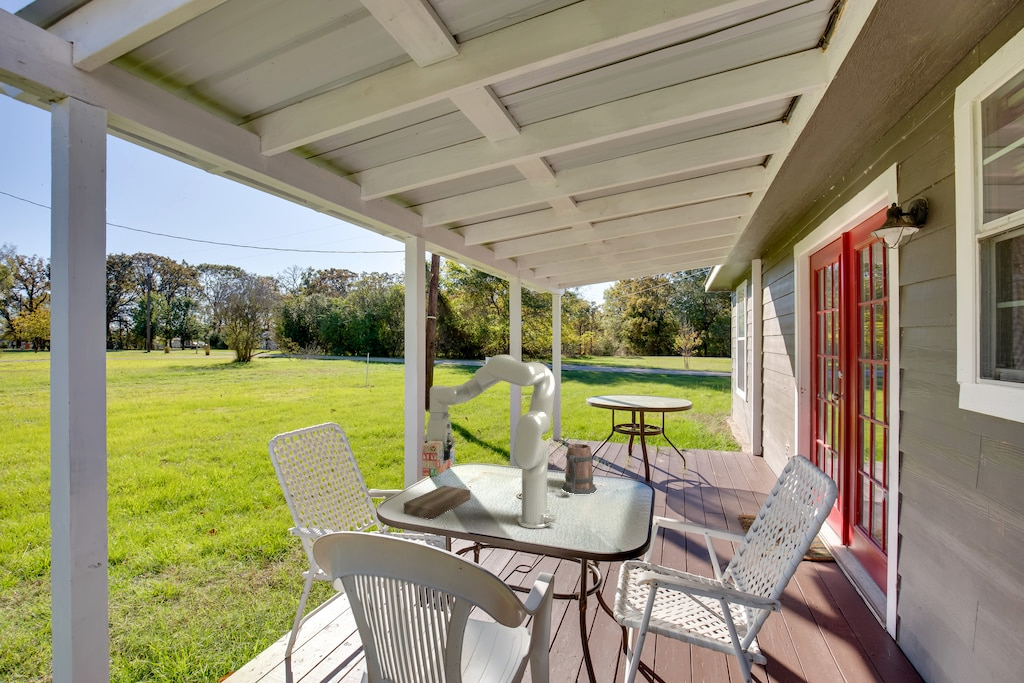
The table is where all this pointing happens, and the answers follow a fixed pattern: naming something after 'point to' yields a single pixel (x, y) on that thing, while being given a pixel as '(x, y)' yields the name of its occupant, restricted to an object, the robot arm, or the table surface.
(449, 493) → the plinth
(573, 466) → the tankard
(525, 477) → the robot arm
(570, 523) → the table surface
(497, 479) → the table surface
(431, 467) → the stack of blocks
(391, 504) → the table surface
